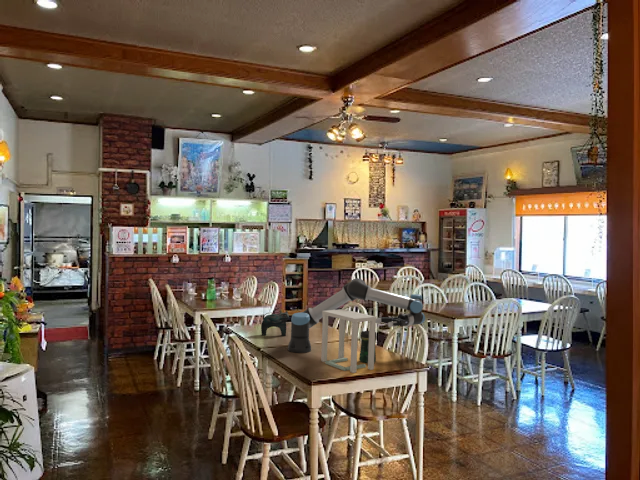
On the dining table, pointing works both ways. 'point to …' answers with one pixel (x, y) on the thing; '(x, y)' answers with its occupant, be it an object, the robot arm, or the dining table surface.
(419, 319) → the robot arm
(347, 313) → the cream stool
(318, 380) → the dining table surface
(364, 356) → the dark green bottle
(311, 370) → the dining table surface
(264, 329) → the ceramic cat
